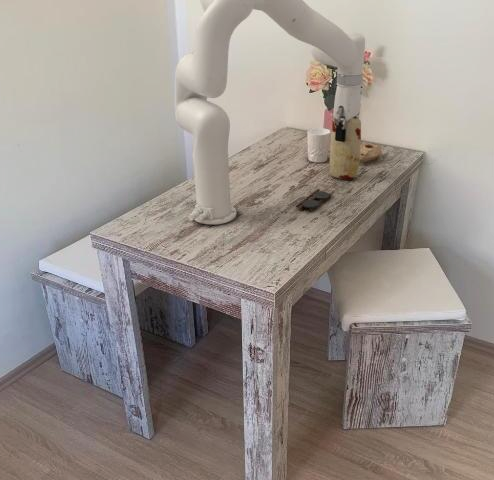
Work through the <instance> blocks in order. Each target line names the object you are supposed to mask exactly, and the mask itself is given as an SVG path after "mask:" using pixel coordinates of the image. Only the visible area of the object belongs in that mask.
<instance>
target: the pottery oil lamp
mask: <svg viewBox="0 0 494 480" xmlns="http://www.w3.org/2000/svg"><path fill="white" fill-rule="evenodd" d="M382 155H383V150H382V148H380V146H379V145H377V144H375V143H369V142H365V143H361V148H360V159H359V163H360V162H361V163H365V162H367V163H368V162H372V161H374V160H376V159H377V158H379V157H380V156H382Z"/></svg>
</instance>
